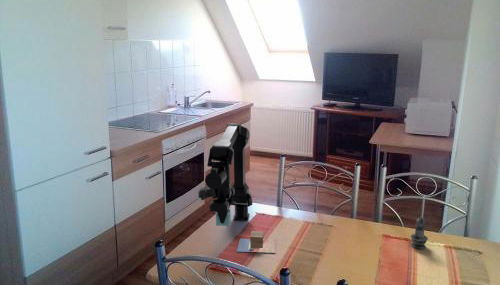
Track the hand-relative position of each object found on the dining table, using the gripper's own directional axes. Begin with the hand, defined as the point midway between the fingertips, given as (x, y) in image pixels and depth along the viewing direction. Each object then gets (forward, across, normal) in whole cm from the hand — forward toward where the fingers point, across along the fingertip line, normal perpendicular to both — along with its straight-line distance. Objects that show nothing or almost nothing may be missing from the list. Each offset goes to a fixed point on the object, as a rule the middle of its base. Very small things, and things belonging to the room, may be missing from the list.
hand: (223, 220), depth 150 cm
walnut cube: (+10, -2, +12) cm, 16 cm away
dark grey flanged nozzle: (+11, -7, +71) cm, 72 cm away
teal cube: (+1, 0, 0) cm, 1 cm away
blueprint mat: (+11, -2, +12) cm, 16 cm away
